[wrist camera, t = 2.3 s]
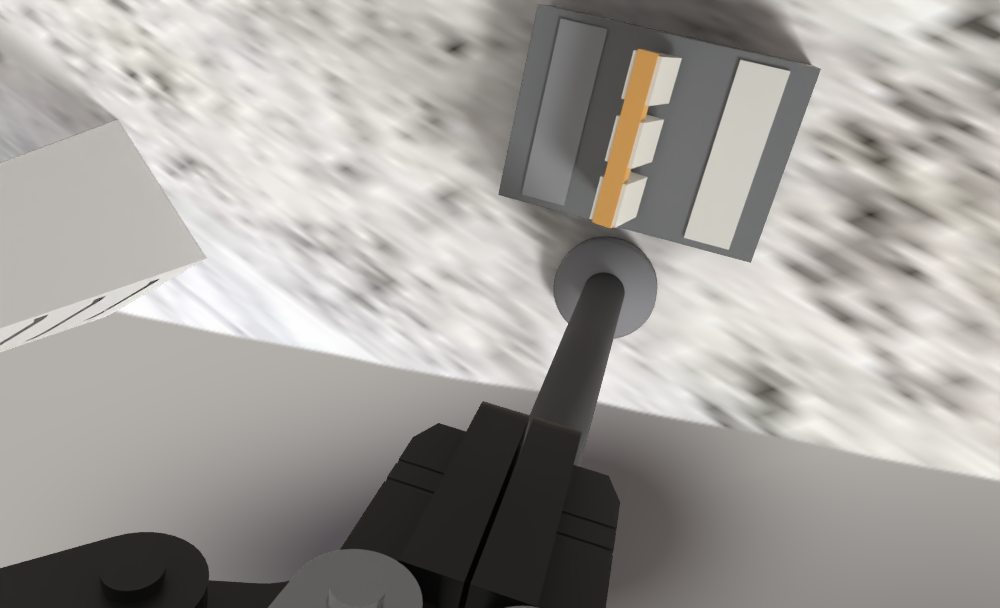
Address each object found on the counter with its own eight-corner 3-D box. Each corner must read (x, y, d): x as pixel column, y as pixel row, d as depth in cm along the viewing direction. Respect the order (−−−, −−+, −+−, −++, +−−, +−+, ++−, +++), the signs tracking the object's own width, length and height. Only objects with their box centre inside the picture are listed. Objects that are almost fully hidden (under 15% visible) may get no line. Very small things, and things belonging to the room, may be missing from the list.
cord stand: (669, 252, 43) (648, 437, 24) (641, 343, 46) (601, 578, 27) (569, 225, 44) (472, 383, 25) (547, 315, 47) (442, 524, 27)
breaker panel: (812, 65, 38) (821, 69, 35) (747, 246, 42) (750, 263, 39) (548, 5, 40) (537, 4, 37) (510, 183, 44) (497, 195, 41)
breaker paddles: (682, 55, 36) (662, 54, 34) (635, 218, 40) (613, 229, 37) (655, 49, 37) (634, 47, 34) (611, 210, 40) (588, 220, 38)
